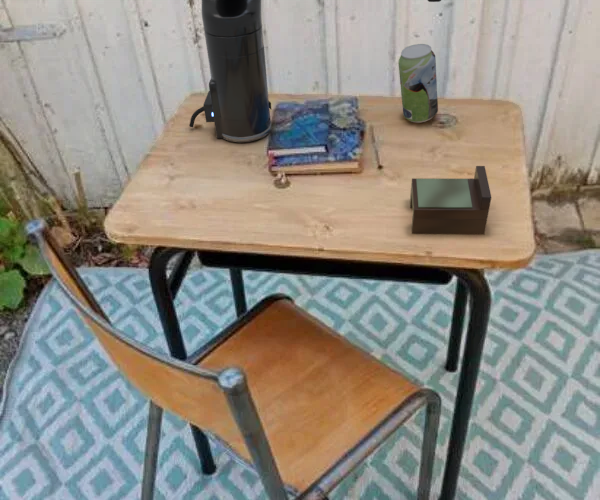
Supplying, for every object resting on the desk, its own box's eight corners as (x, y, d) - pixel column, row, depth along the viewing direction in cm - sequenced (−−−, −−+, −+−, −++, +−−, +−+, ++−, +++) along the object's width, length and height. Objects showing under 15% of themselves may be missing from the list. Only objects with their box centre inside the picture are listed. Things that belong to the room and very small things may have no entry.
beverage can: (442, 122, 113) (451, 51, 104) (403, 130, 111) (408, 58, 103) (427, 107, 117) (434, 37, 108) (389, 114, 116) (393, 44, 107)
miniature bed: (411, 234, 91) (415, 196, 86) (409, 202, 96) (413, 165, 92) (484, 234, 90) (491, 197, 86) (478, 202, 95) (484, 165, 91)
